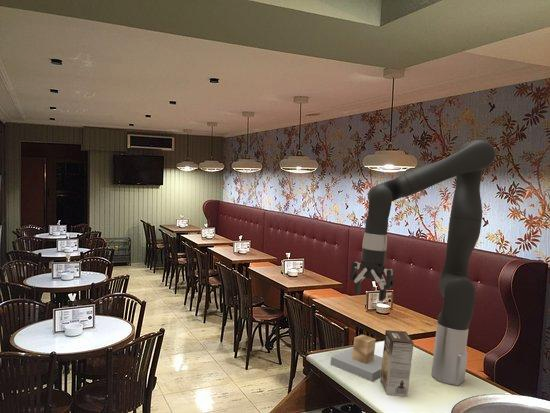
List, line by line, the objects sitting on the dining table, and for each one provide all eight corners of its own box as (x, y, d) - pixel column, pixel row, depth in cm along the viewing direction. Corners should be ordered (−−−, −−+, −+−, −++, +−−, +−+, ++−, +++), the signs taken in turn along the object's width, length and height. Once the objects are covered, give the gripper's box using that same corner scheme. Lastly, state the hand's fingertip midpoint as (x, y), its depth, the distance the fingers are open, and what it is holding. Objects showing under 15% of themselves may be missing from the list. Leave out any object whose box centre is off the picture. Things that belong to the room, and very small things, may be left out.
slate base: (393, 369, 145) (393, 361, 145) (372, 381, 134) (372, 373, 134) (353, 354, 155) (353, 347, 155) (330, 364, 144) (331, 356, 144)
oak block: (373, 360, 145) (375, 339, 144) (365, 363, 141) (367, 342, 140) (360, 354, 148) (362, 334, 147) (352, 358, 144) (354, 337, 144)
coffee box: (379, 380, 136) (384, 329, 135) (400, 382, 136) (406, 331, 134) (386, 395, 126) (392, 340, 125) (408, 397, 126) (414, 342, 125)
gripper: (400, 250, 140) (395, 301, 141) (360, 243, 150) (355, 290, 151) (389, 252, 135) (383, 304, 136) (348, 244, 144) (344, 293, 145)
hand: (369, 297), depth 143 cm, fingers open, 8 cm apart
